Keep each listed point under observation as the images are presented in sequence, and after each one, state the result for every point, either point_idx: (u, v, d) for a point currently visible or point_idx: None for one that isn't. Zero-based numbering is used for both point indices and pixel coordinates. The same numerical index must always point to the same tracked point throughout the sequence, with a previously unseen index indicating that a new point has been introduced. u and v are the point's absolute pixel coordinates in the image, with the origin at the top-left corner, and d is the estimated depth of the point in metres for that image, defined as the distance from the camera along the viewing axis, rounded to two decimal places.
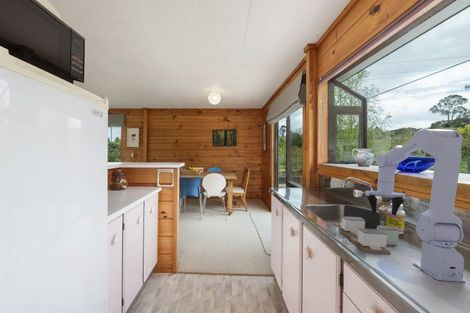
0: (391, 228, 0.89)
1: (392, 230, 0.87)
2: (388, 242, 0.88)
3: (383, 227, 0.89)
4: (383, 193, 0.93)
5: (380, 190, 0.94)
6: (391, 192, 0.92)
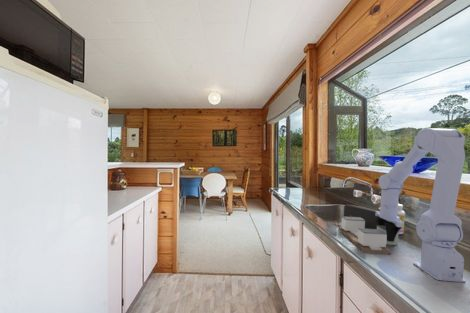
0: None
1: None
2: (388, 242, 0.88)
3: (383, 227, 0.89)
4: (379, 214, 0.91)
5: None
6: (384, 215, 0.88)
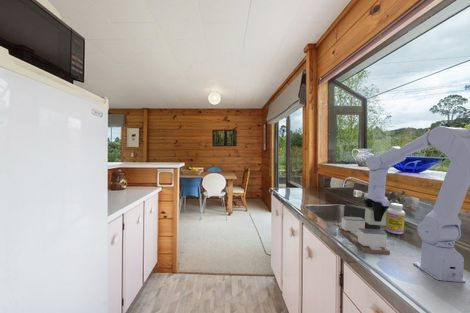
0: None
1: None
2: (376, 222, 0.88)
3: (371, 208, 0.90)
4: (367, 195, 0.91)
5: None
6: (371, 195, 0.88)
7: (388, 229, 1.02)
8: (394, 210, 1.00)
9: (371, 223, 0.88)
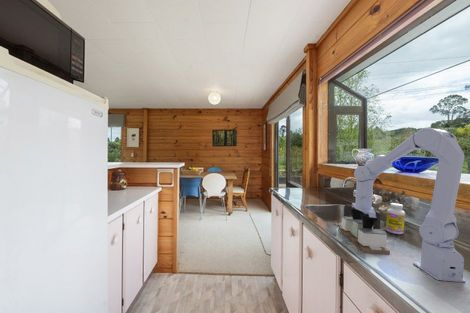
0: None
1: None
2: None
3: (358, 221, 0.90)
4: (354, 206, 0.92)
5: None
6: (358, 206, 0.89)
7: (388, 229, 1.02)
8: (394, 210, 1.00)
9: None
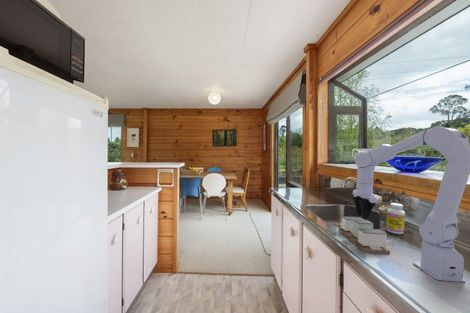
0: (366, 222, 0.89)
1: (367, 224, 0.88)
2: None
3: (358, 221, 0.90)
4: (355, 192, 0.91)
5: None
6: (359, 192, 0.88)
7: (388, 229, 1.02)
8: (394, 210, 1.00)
9: None
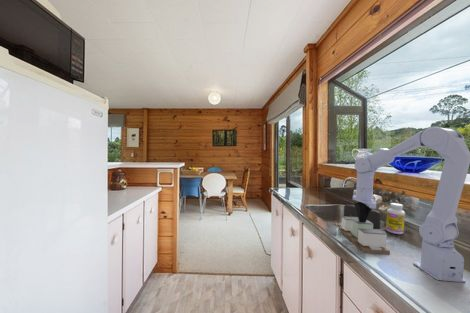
0: (366, 222, 0.89)
1: (367, 224, 0.88)
2: None
3: (358, 221, 0.90)
4: (355, 198, 0.91)
5: None
6: (359, 198, 0.88)
7: (388, 229, 1.02)
8: (394, 210, 1.00)
9: None
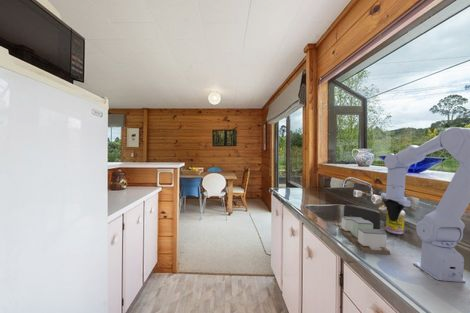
0: (366, 222, 0.89)
1: (367, 224, 0.88)
2: None
3: (358, 221, 0.90)
4: (385, 195, 0.88)
5: None
6: (390, 195, 0.85)
7: (388, 229, 1.02)
8: None
9: None
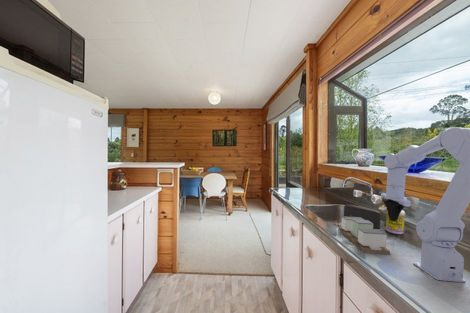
0: (366, 222, 0.89)
1: (367, 224, 0.88)
2: None
3: (358, 221, 0.90)
4: (385, 195, 0.88)
5: None
6: (390, 195, 0.85)
7: (388, 229, 1.02)
8: None
9: None
